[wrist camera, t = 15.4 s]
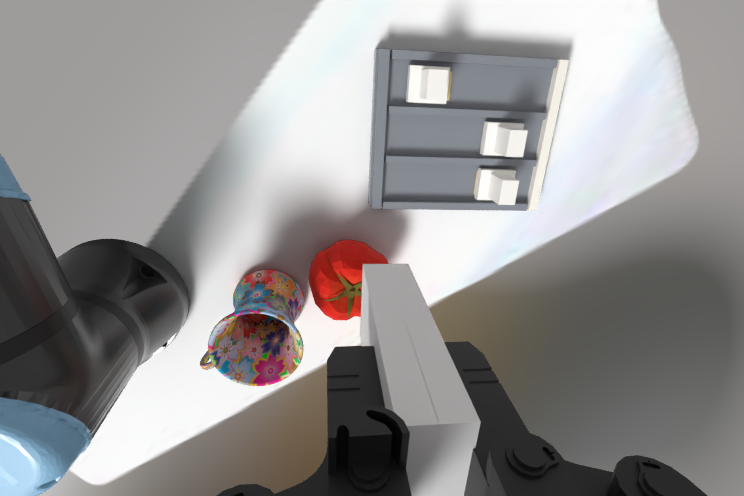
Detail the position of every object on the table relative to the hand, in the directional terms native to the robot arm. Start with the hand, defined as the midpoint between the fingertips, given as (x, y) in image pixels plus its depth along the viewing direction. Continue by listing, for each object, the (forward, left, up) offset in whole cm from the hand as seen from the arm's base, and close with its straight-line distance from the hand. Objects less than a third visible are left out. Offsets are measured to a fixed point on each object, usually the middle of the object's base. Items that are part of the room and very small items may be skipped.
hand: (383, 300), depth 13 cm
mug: (-10, -19, -33) cm, 39 cm away
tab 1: (+8, +7, -31) cm, 33 cm away
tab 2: (+17, +2, -31) cm, 35 cm away
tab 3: (+17, -3, -31) cm, 35 cm away
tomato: (+1, -14, -33) cm, 36 cm away
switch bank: (+13, +2, -32) cm, 35 cm away
